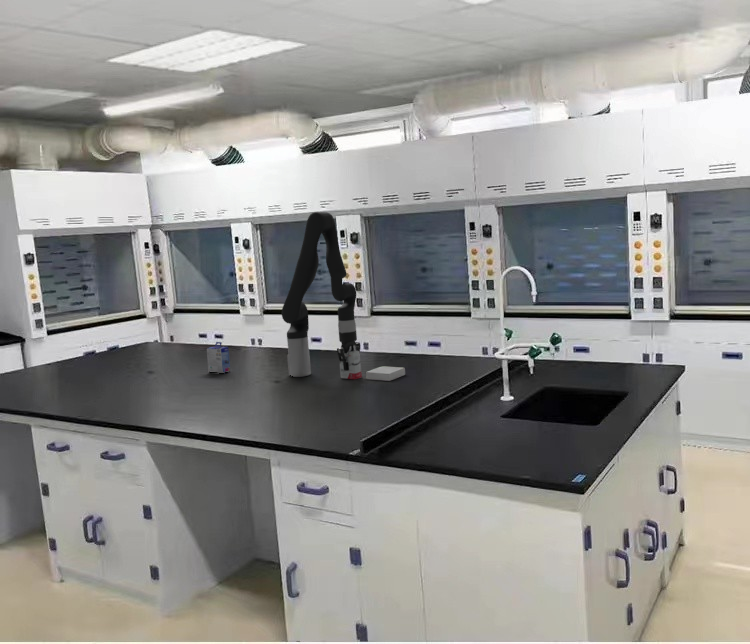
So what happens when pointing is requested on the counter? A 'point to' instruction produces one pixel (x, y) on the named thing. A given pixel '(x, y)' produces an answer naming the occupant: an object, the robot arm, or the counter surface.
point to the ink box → (352, 366)
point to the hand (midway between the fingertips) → (350, 368)
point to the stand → (385, 373)
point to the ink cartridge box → (218, 358)
